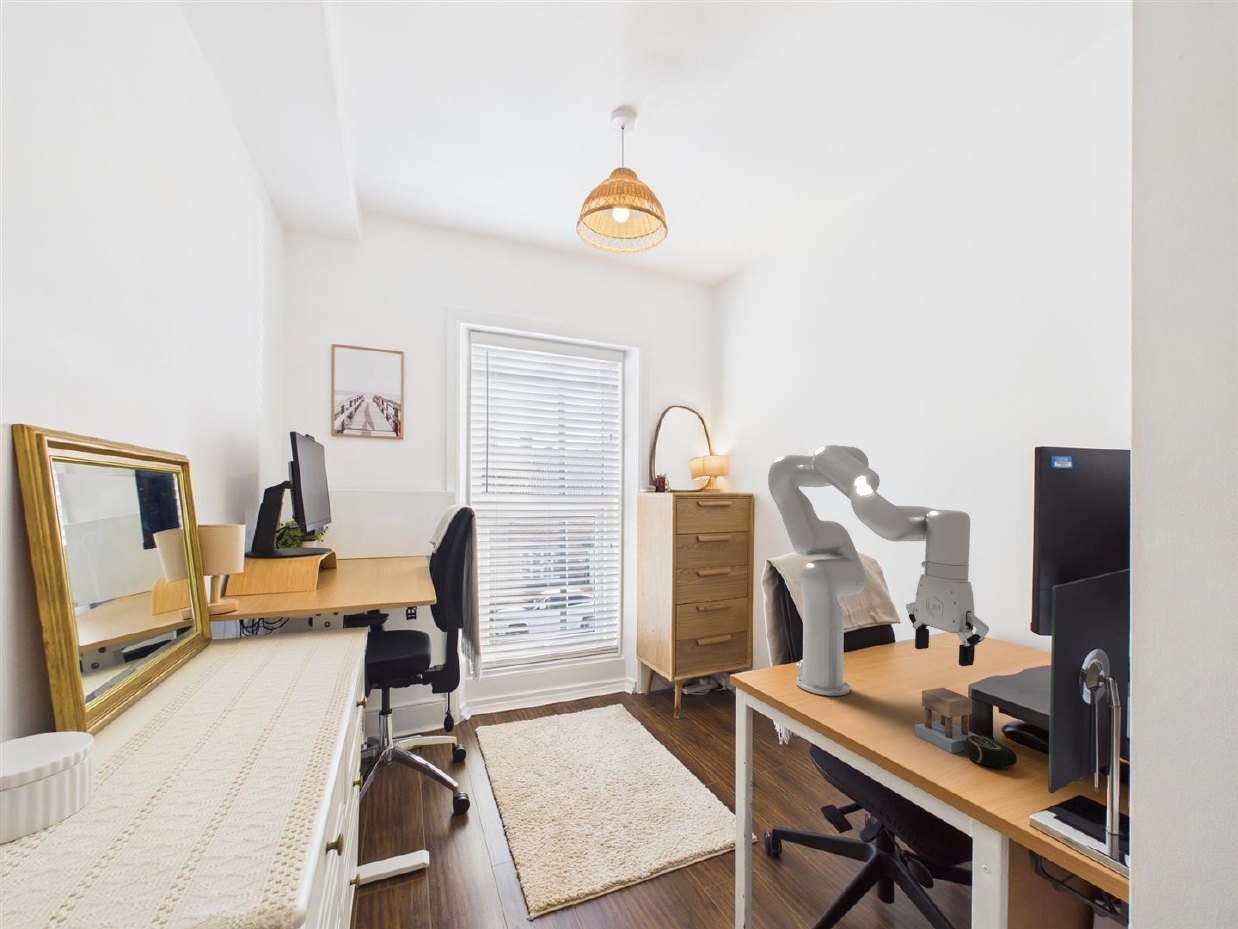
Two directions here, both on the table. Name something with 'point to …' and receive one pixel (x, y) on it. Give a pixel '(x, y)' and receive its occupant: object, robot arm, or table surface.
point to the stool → (946, 708)
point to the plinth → (943, 736)
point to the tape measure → (989, 752)
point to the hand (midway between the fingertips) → (942, 656)
